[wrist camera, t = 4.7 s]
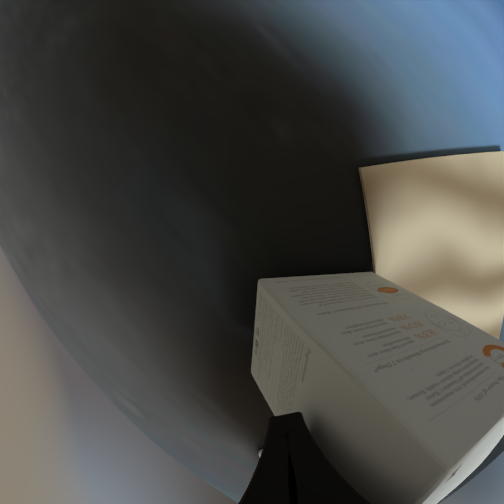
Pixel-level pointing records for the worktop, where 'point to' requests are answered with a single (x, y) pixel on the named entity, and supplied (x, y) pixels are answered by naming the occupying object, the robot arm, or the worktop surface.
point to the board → (441, 231)
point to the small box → (380, 382)
